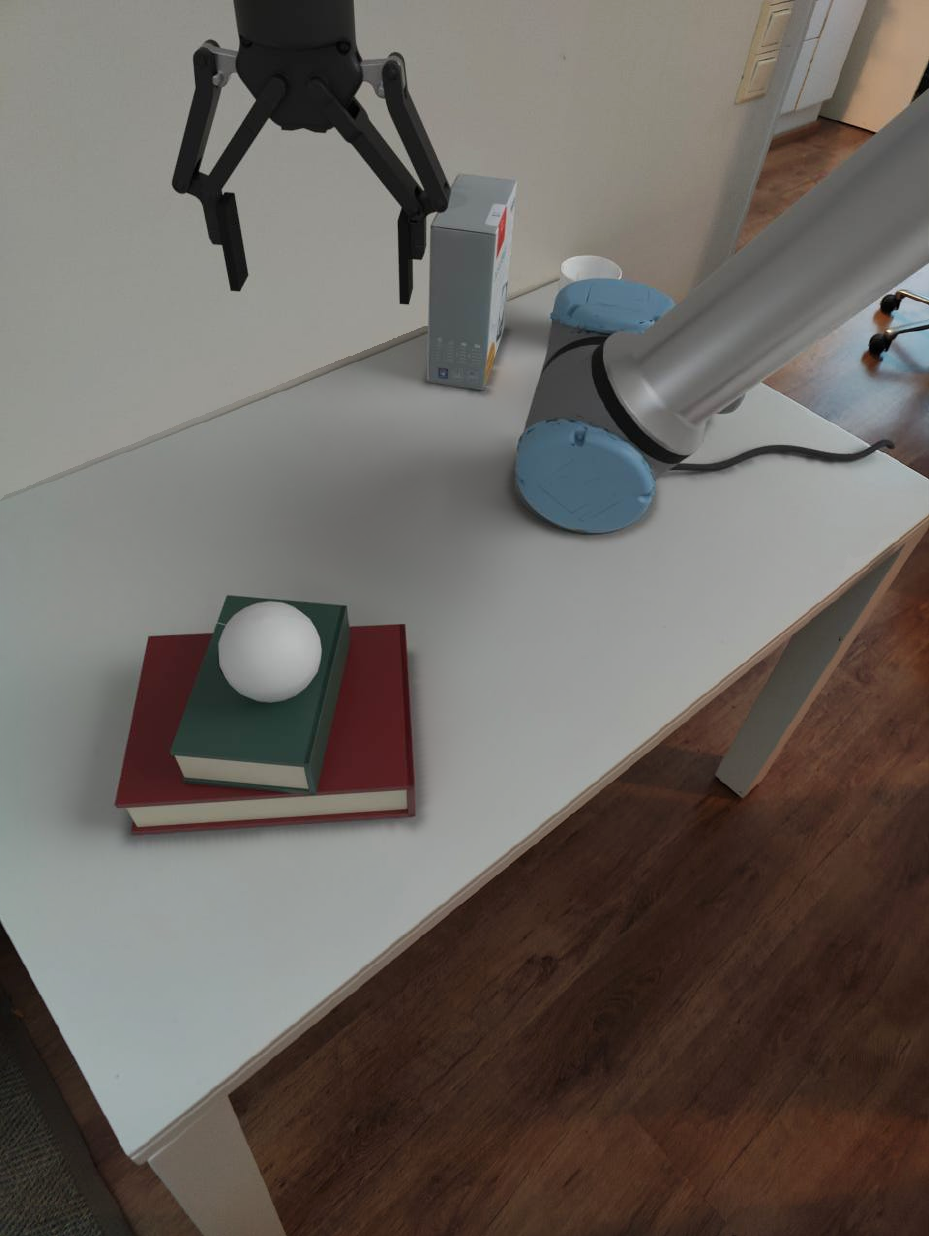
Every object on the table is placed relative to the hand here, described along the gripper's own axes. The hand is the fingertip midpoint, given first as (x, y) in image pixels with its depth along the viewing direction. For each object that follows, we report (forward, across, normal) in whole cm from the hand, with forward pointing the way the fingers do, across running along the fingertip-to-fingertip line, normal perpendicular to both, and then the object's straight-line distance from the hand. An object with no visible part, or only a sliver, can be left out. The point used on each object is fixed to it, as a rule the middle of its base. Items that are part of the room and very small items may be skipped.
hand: (322, 289), depth 66 cm
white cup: (+27, -25, -41) cm, 55 cm away
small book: (+22, +1, +26) cm, 34 cm away
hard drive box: (+27, -10, -35) cm, 45 cm away
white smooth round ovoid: (+17, +1, +26) cm, 31 cm away
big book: (+27, +1, +26) cm, 37 cm away
